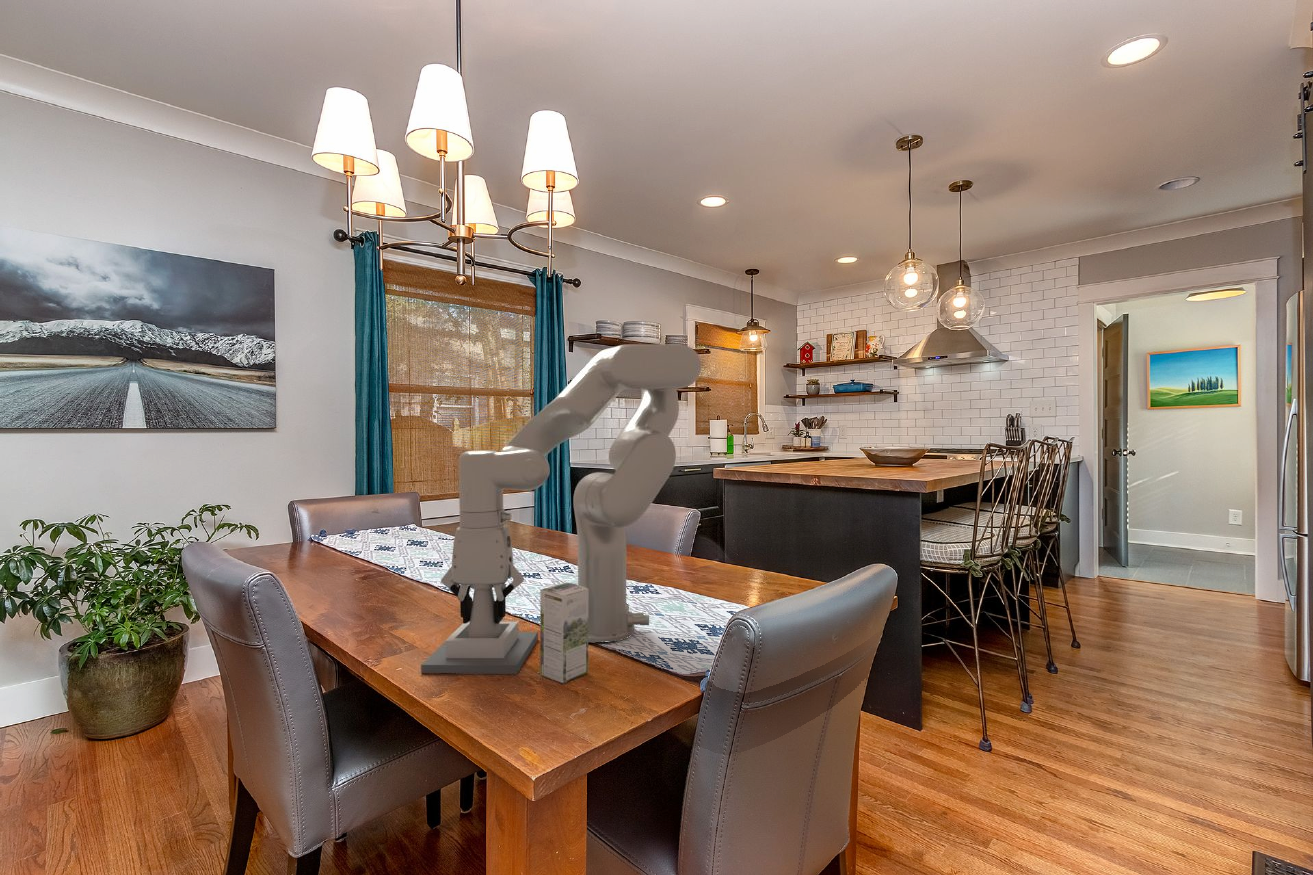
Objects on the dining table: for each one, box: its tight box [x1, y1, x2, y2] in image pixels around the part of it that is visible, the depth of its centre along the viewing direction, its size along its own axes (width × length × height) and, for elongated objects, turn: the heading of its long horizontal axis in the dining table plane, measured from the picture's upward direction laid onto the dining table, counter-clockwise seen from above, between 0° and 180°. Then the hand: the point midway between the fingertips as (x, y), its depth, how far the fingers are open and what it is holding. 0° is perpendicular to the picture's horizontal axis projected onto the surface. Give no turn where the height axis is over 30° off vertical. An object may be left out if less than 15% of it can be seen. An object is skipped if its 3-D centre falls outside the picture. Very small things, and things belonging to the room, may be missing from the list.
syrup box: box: [539, 582, 589, 684], centre depth 101 cm, size 6×6×14 cm
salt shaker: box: [468, 584, 501, 638], centre depth 110 cm, size 6×6×13 cm
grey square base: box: [420, 621, 539, 675], centre depth 110 cm, size 16×16×4 cm
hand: (483, 620), depth 110 cm, fingers open, 4 cm apart
